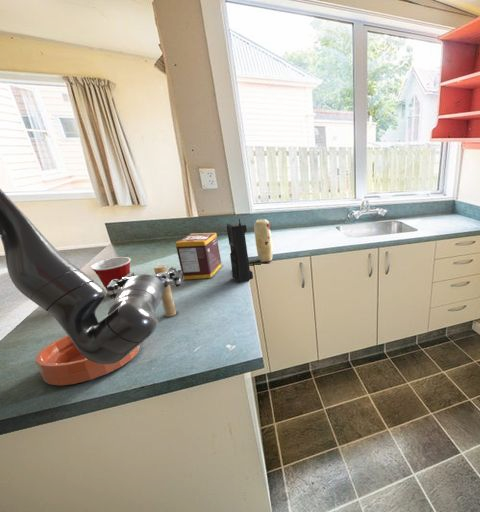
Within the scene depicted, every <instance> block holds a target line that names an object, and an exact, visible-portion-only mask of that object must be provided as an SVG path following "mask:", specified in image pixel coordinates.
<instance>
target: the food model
mask: <svg viewBox="0 0 480 512" xmlns="http://www.w3.org/2000/svg"><path fill="white" fill-rule="evenodd" d="M253 231H254V240H255V246H256V253H257V257H258V261H260V262H261V263H263V262H271V261H273V240H272V232H271V226H270V221H269V220H267V219H266V218H259V219H257V220H256V221H254V223H253Z"/></svg>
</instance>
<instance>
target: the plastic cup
mask: <svg viewBox="0 0 480 512" xmlns="http://www.w3.org/2000/svg"><path fill="white" fill-rule="evenodd" d="M131 260H132V258H131V257H127V256H116V257H110V258H106V259H102V260H99V261H97V262H94V263H92V264H91V265H90V266H89V268H90V269H91V270H92V271H93V272H94V273H95V274H96V276H97V277H98V278H99V280H100V282H101V284H102V286H103V287H104V288H105V291H106V293H107V294H109V292H108V289H107V287H108V285H109V284H110V282H111V280H113V279H118V280H122V278H123V277H125V276H126V275H128V274H129V273H131Z"/></svg>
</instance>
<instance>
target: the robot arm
mask: <svg viewBox="0 0 480 512" xmlns="http://www.w3.org/2000/svg"><path fill="white" fill-rule="evenodd" d="M0 240H1V243H2V247H3V251H4V258H5V265H6V268H7V273H8V276H9V278H10V280H11V282H12V284H13V285H14V287H15V288H16V289H17V290H18V291H19V292H20V293H21V294H22V295H23V296H24V297H26V298H27V299H29V300H30V301H32V302H33V303H34V304H35V305H37V306H38V307H40V308H41V309H43V310H44V311H45V312H47V313H48V314H49V315H51V316H52V317H54V319H55V320H56V321H57V322H58V324H59V326H61V328H62V329H63V331H64V332H65V333H66V334H67V335H68V336H69V337H70V339H71V340H72V342H73V343H74V345H75V346H76V348H77V349H78V350H79V352H80V353H81V354H82V355H83V356H84V357H85V358H87V359H88V360H90V361H92V362H95V363H98V364H114V363H117V362H119V361H120V360H122V359H123V358H124V357H126V356H127V355H128V354H129V353H130V352H132V351H133V350H134V349H135V348H136V347H137V346H139V345H141V344H142V343H144V342H145V341H146V340H147V339H148V338H150V336H152V335H153V334H154V333H155V331H156V330H157V328H158V326H159V320H158V318H157V315H156V310H157V309H158V307H159V306H160V303H161V302H162V296H163V293H164V289H165V288H166V287H167V286H168V285H170V286H171V285H172V286H174V287H176V288H180V287H181V286H182V284H183V282H184V276H183V272H182V270H181V269H178V270H177V268H174V266H171V267H169V269H168V271H167V272H161V273H159V274H156V275H155V274H154V275H153V274H145V273H144V274H137V275H135V273H134V272H133V271H132V272H130V273H129V274H128V275H126V276H125V277H123V278H122V280H118V279H113V280H111V282H110V284H109V285H108V287H107V289H108V292H109V293H108V292H107V291H106V289H104V288H103V287H102V286H101V285H100V284H99V283H97V282H96V281H95V280H93V279H92V278H91V277H89V275H87V274H86V273H85V272H83V270H81V269H80V268H79V267H78V266H76V265H75V264H74V263H72V262H71V261H70V260H68V258H66V257H65V256H64V255H63V254H62V253H61V252H60V251H59V250H58V249H57V248H55V246H54V245H53V243H50V241H49V240H48V239H47V238H46V237H45V236H44V234H42V233H41V232H40V230H39V228H37V227H36V225H35V224H34V223H33V222H32V221H31V220H30V219H29V218H28V216H26V214H25V213H24V212H23V211H22V210H21V209H20V208H19V207H18V206H17V204H16V203H14V202H13V201H12V199H11V198H10V197H9V196H8V195H7V194H6V193H5V191H3V190H2V188H0ZM161 277H162V278H161ZM107 293H108V295H109V298H114V300H113V302H112V303H111V304H110V306H109V308H108V311H107V316H105V317H104V318H102V320H100V321H99V320H98V317H97V314H96V311H98V308H99V307H100V305H101V304H102V303H103V302H104V301H105V298H106V297H107ZM67 335H66V336H67Z"/></svg>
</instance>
